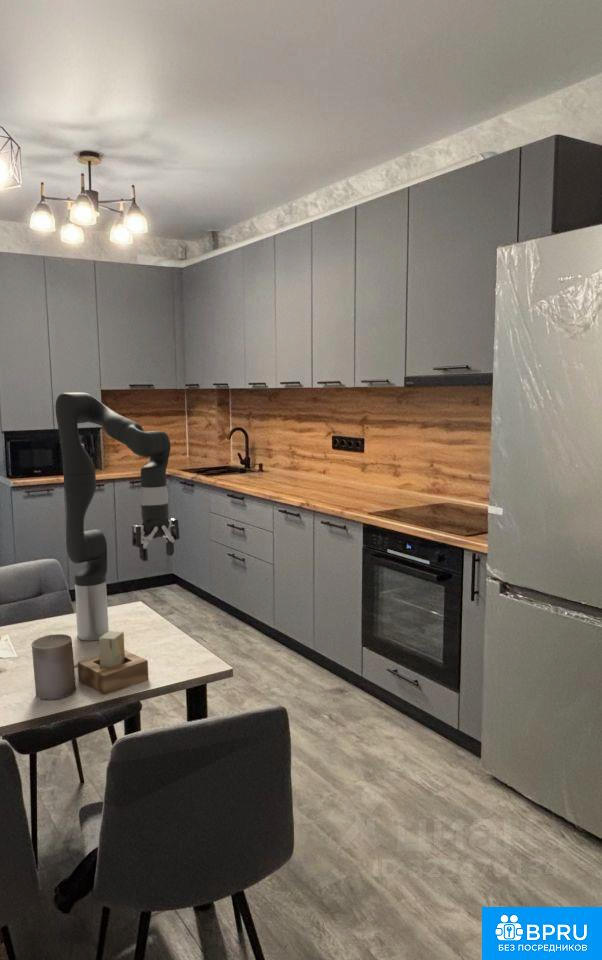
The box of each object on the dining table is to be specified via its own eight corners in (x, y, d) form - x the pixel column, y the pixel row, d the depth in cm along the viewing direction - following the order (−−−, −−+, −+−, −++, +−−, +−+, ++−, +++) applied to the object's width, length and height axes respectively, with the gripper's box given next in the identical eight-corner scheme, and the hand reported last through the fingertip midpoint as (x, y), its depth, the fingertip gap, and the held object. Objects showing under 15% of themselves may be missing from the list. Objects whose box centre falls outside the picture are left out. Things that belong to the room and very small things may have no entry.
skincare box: (115, 684, 183) (113, 639, 182) (100, 683, 184) (97, 638, 183) (126, 675, 190) (124, 630, 188) (111, 674, 190) (109, 630, 189)
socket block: (78, 681, 187) (77, 661, 186) (121, 666, 196) (120, 648, 195) (104, 695, 178) (103, 675, 177) (148, 679, 187) (147, 660, 186)
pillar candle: (68, 681, 187) (63, 626, 185) (81, 693, 179) (77, 636, 177) (30, 691, 181) (25, 635, 179) (42, 704, 173) (37, 645, 171)
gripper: (167, 497, 208) (170, 551, 210) (125, 503, 197) (128, 560, 200) (183, 500, 202) (185, 555, 204) (140, 506, 192) (143, 565, 194)
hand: (157, 558), depth 202 cm, fingers open, 8 cm apart
